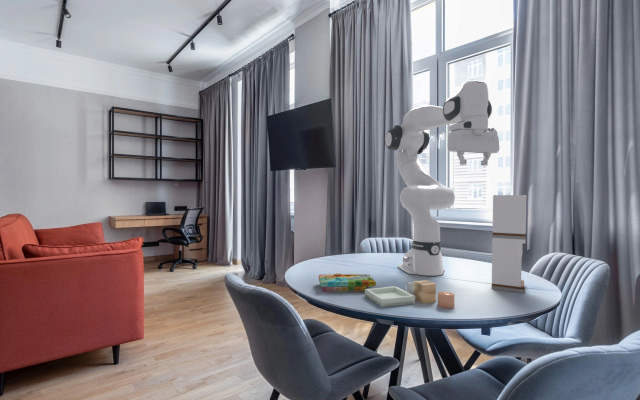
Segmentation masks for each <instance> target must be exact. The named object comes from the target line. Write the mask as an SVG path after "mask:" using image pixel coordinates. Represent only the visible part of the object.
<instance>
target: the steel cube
mask: <svg viewBox="0 0 640 400" xmlns="http://www.w3.org/2000/svg"><path fill="white" fill-rule="evenodd" d="M406 292H408V293H410V294H412V295H414V281H409V282H406Z"/></svg>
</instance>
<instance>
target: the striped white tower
mask: <svg viewBox="0 0 640 400" xmlns="http://www.w3.org/2000/svg"><path fill="white" fill-rule="evenodd" d="M526 229H527V195H526V194H520V195H519V194H512V195H511V194H509V195H507V194H504V195H503V194H493V195H492V238H491V241H492V243H491V244H492V245H491V248H492V249H491V290H497V291H505V292H513V293H522V294H525V293H526V292H525V291H526V288H525V286H526V285H525V280H524V279H522V259H523V244H527V243H526V241H527V235H526V233H527V230H526Z"/></svg>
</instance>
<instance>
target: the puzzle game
mask: <svg viewBox="0 0 640 400" xmlns="http://www.w3.org/2000/svg"><path fill="white" fill-rule="evenodd" d="M318 280H319V281H318V282H319V285H320V288H321V289H322V292H325V293H327V292H330V293H332V292H365V289H367V287H368V288H370V287H376V286H377V283H376V280H374V278H373V277H372V275H370V274H369V273H367V274H365V273H364V274H362V273H361V274H359V273H358V274H357V273H356V274H353V273H351V274H349V273H348V274H346V273H345V274H342V273H331V274H330V273H329V274H324V273H323V274H322V273H321V274H318Z"/></svg>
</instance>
